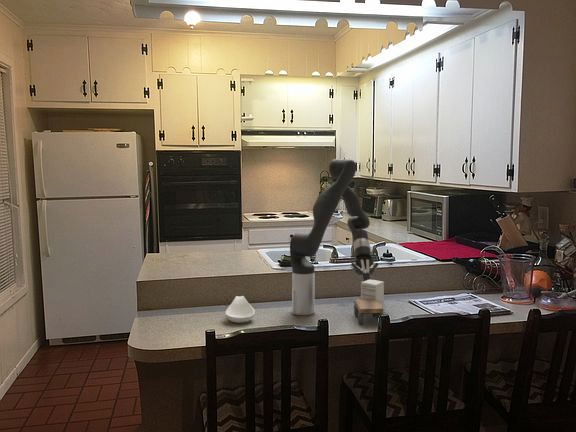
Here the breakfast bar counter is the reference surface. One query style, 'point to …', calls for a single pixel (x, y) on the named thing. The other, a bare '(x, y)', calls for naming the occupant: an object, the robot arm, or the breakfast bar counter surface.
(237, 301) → the white conical piece
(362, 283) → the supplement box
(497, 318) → the breakfast bar counter surface
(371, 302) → the brown block with legs
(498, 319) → the breakfast bar counter surface
